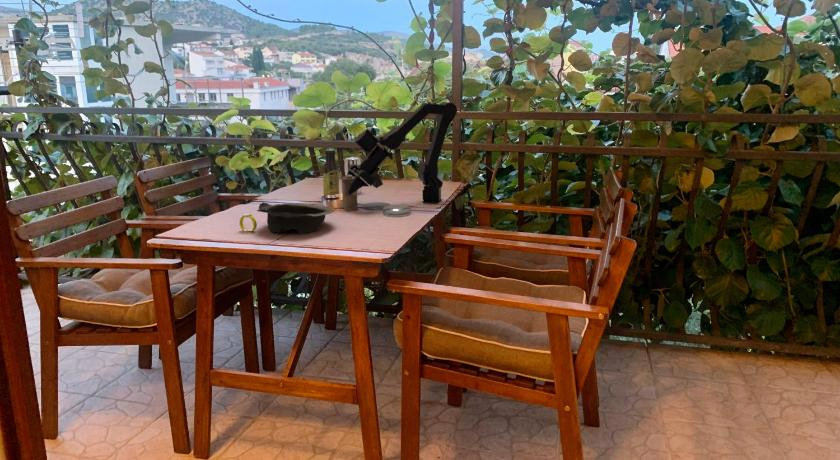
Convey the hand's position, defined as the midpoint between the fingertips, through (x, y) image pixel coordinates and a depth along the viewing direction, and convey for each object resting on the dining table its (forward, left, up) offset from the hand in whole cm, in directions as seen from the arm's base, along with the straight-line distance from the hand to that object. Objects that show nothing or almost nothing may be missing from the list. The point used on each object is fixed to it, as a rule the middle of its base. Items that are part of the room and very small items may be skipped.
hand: (346, 191), depth 225 cm
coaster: (-9, -7, -7) cm, 13 cm away
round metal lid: (-20, +1, -7) cm, 22 cm away
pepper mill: (-1, -1, -7) cm, 7 cm away
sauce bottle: (+15, -17, -7) cm, 23 cm away
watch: (+18, +37, -7) cm, 42 cm away
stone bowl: (+4, +29, -7) cm, 30 cm away
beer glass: (+10, -28, -7) cm, 30 cm away
